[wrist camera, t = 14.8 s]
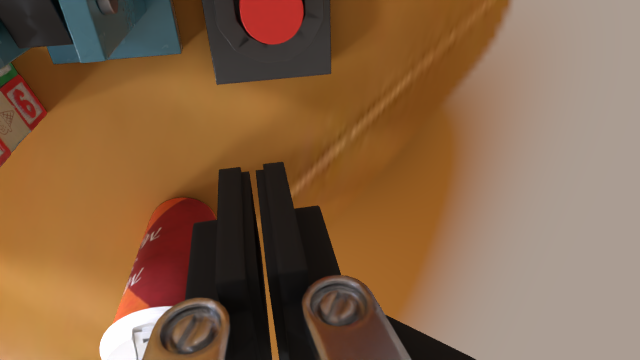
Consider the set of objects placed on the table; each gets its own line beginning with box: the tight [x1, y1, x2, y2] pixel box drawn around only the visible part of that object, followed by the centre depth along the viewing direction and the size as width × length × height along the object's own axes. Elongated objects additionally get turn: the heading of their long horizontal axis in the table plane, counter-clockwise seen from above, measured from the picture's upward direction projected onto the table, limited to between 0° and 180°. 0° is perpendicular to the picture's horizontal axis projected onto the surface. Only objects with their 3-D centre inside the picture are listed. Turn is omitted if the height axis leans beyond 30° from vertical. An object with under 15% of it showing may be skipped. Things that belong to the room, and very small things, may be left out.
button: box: [239, 0, 304, 44], centre depth 24 cm, size 4×4×2 cm
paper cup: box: [100, 198, 216, 360], centre depth 31 cm, size 8×8×14 cm
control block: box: [202, 0, 331, 85], centre depth 26 cm, size 10×8×4 cm
